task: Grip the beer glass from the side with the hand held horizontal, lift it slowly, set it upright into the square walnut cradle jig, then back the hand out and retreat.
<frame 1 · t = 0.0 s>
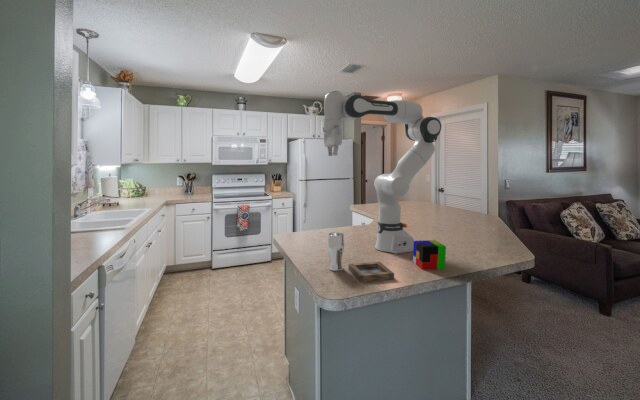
hand: (332, 155, 148), 48 cm above the countertop, tool pointing down, fingers open, 8 cm apart
puzzle toy: (428, 266, 134), on the countertop
cradle jig: (370, 274, 123), on the countertop
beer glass: (335, 269, 130), on the countertop
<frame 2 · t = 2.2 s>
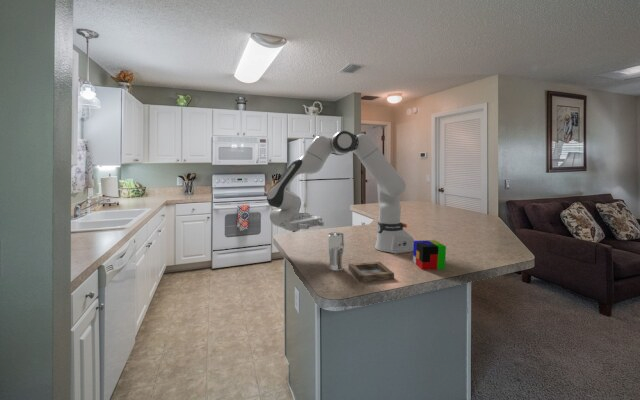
hand: (315, 225, 136), 17 cm above the countertop, tool horizontal, fingers open, 8 cm apart
nothing on the countertop moved.
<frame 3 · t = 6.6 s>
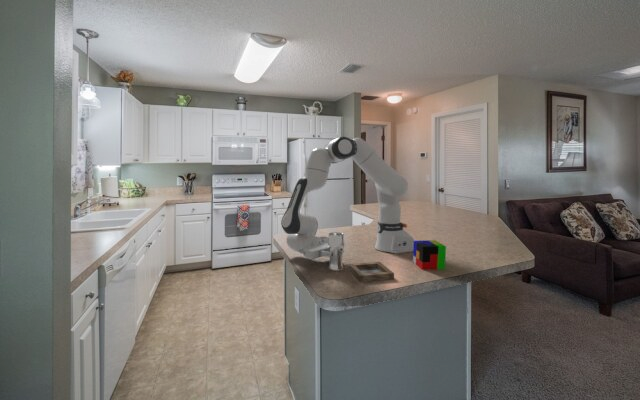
hand: (337, 252, 128), 7 cm above the countertop, tool horizontal, fingers closed on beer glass, 6 cm apart
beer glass: (335, 268, 130), on the countertop, touching gripper
everything else where it was.
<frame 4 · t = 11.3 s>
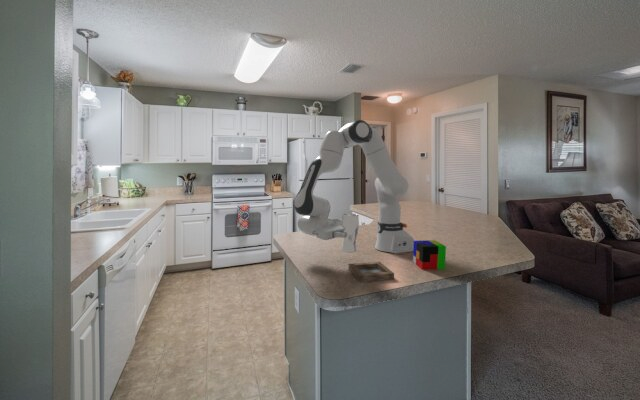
hand: (351, 234, 125), 16 cm above the countertop, tool horizontal, fingers closed on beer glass, 6 cm apart
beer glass: (348, 251, 126), point 8 cm above the countertop, touching gripper
everything else where it was.
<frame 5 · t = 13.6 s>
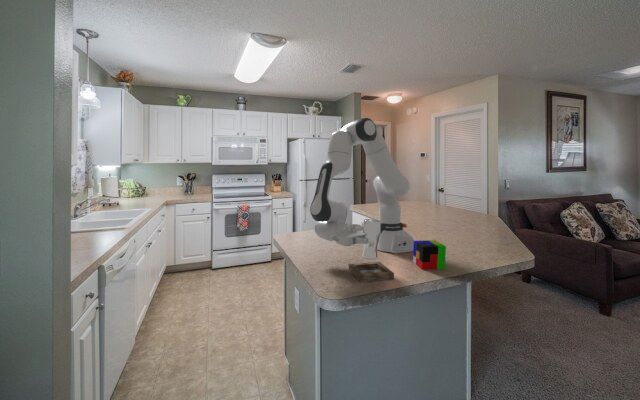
hand: (372, 240, 121), 14 cm above the countertop, tool horizontal, fingers closed on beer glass, 6 cm apart
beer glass: (369, 257, 122), point 7 cm above the countertop, touching gripper
everything else where it was.
when the fingers open (9 cm above the countertop, at t = 15.6 s): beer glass moves 2 cm, resting on cradle jig.
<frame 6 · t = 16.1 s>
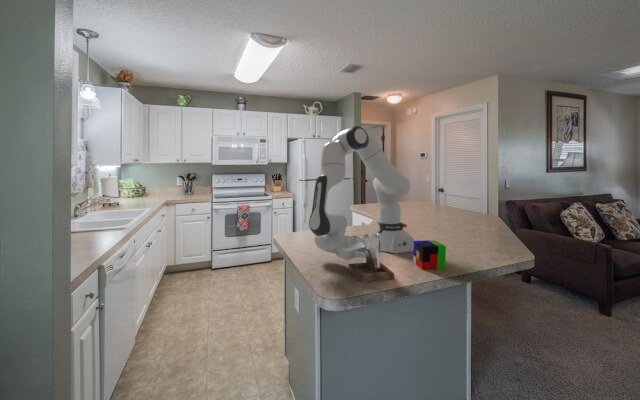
hand: (372, 253, 122), 9 cm above the countertop, tool horizontal, fingers open, 8 cm apart
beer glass: (373, 271, 125), point 1 cm above the countertop, touching cradle jig, gripper
everything else where it was.
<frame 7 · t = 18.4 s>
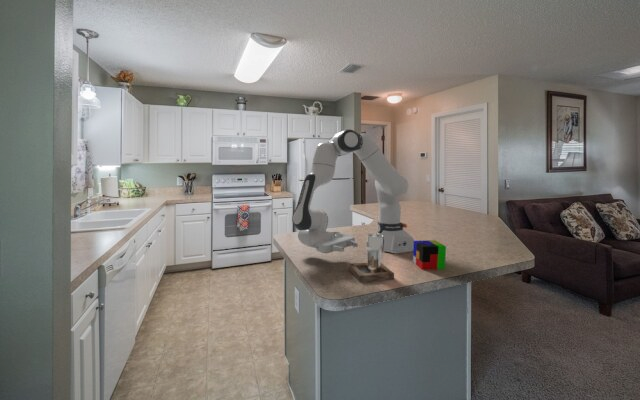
hand: (350, 247, 129), 9 cm above the countertop, tool horizontal, fingers open, 8 cm apart
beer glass: (373, 271, 125), point 1 cm above the countertop, touching cradle jig
everything else where it was.
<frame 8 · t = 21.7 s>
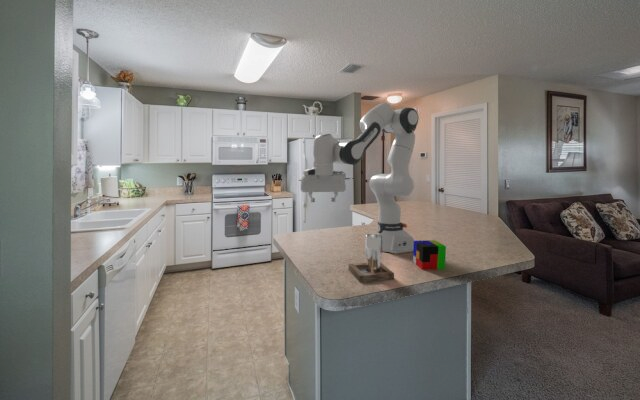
hand: (323, 201, 137), 27 cm above the countertop, tool pointing down, fingers open, 8 cm apart
nothing on the countertop moved.
at the end: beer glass 2.0 cm off-centre on the cradle jig, point 0.4 cm above the cradle jig's base; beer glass tilted 0°; the gripper is holding nothing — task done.
